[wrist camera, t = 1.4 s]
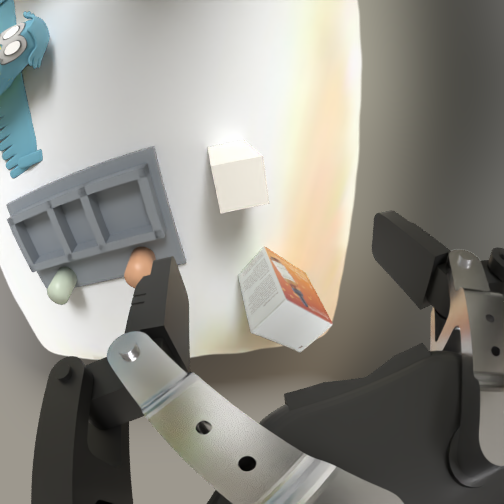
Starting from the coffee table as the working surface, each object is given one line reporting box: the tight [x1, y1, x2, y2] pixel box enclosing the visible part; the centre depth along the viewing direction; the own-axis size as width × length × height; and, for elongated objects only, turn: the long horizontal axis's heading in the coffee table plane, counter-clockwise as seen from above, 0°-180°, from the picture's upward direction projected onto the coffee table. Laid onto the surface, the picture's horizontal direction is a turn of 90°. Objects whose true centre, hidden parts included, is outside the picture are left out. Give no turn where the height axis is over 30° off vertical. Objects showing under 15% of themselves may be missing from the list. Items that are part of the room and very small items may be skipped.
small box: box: [238, 246, 333, 352], centre depth 33 cm, size 8×6×10 cm
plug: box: [208, 140, 269, 214], centre depth 25 cm, size 4×4×9 cm
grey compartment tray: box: [7, 146, 186, 305], centre depth 27 cm, size 14×22×5 cm, turn 99°
